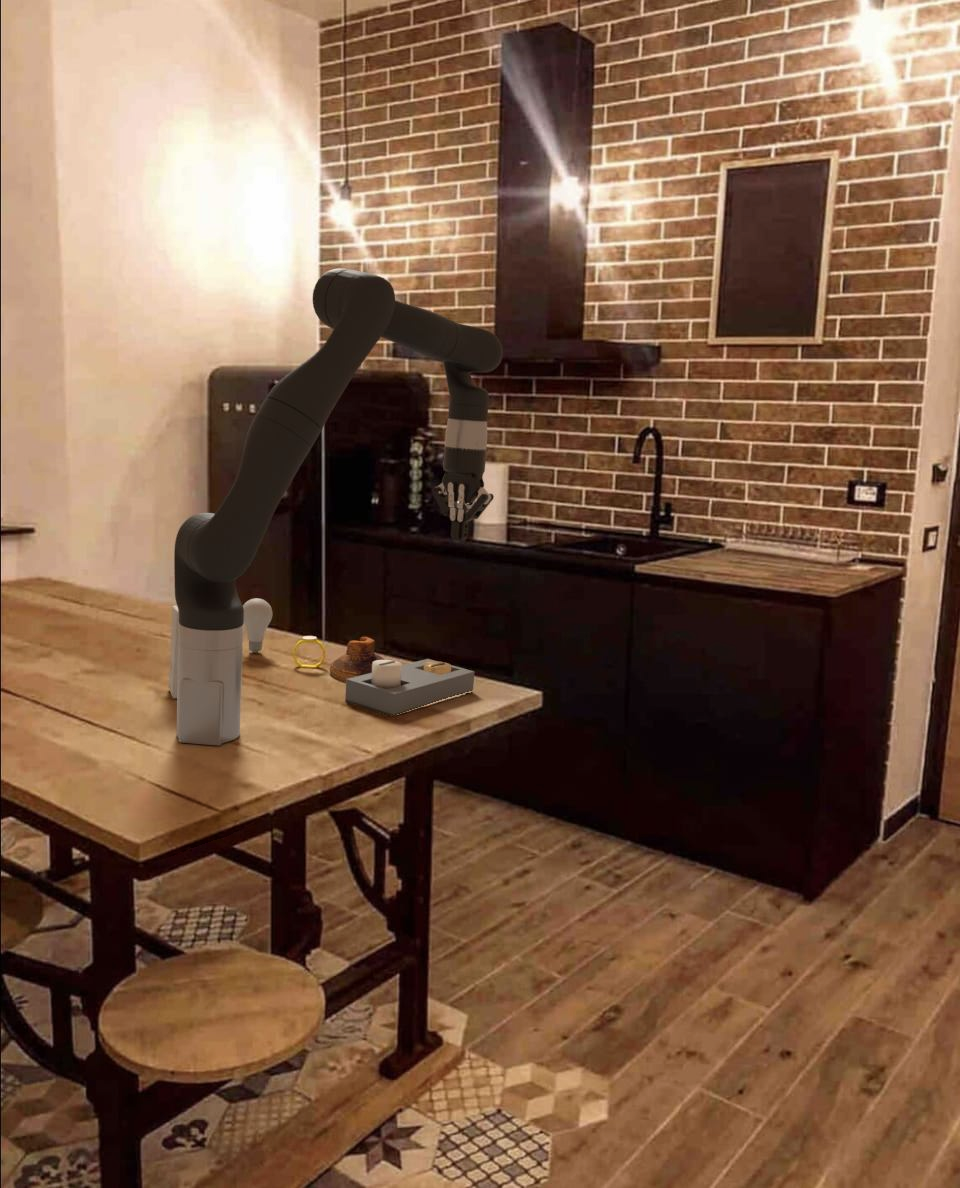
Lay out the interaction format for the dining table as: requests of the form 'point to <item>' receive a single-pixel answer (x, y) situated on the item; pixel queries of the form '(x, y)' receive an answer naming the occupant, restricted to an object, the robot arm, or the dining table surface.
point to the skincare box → (174, 652)
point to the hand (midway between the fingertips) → (458, 541)
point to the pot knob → (386, 673)
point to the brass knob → (437, 667)
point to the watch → (309, 640)
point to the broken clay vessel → (355, 660)
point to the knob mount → (408, 689)
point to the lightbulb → (256, 622)
